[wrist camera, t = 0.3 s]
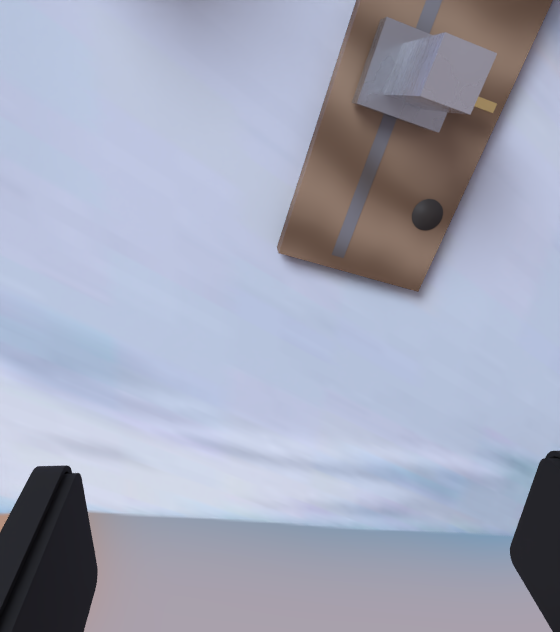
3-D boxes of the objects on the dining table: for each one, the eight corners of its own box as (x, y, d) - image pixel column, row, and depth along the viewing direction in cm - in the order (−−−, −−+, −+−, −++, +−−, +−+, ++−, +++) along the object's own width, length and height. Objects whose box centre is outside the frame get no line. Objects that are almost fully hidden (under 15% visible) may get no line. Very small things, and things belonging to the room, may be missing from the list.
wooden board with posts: (439, -258, 26) (546, -437, 17) (614, -162, 29) (787, -275, 20) (277, 247, 38) (290, 296, 29) (411, 284, 40) (463, 341, 31)
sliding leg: (380, 20, 30) (426, -3, 23) (501, 68, 32) (581, 62, 25) (351, 102, 32) (386, 106, 25) (467, 144, 34) (532, 159, 27)
